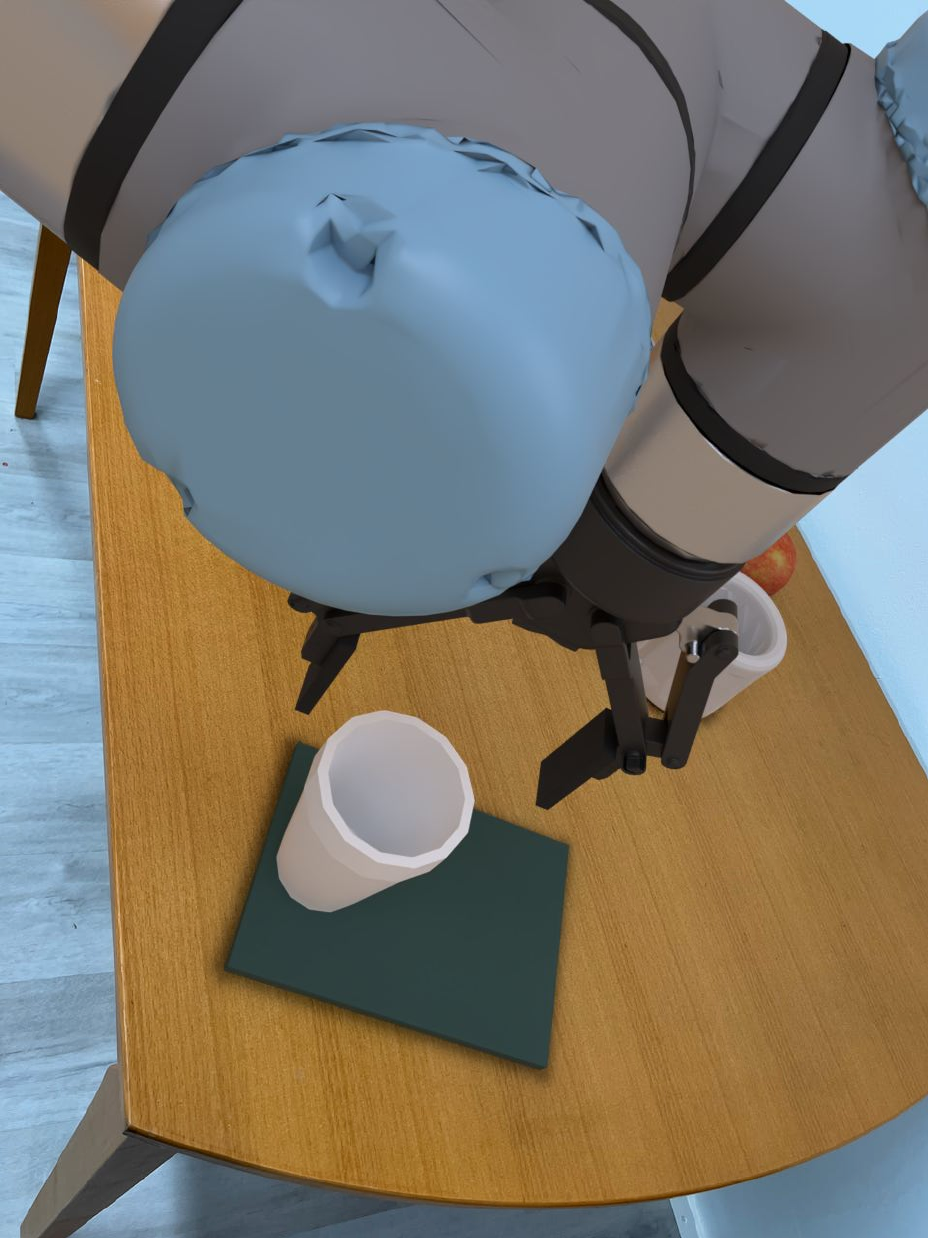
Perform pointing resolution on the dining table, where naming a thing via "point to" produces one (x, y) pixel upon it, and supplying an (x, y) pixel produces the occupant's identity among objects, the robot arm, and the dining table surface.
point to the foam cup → (374, 811)
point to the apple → (773, 566)
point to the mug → (756, 645)
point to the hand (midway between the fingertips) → (429, 740)
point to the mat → (422, 937)
